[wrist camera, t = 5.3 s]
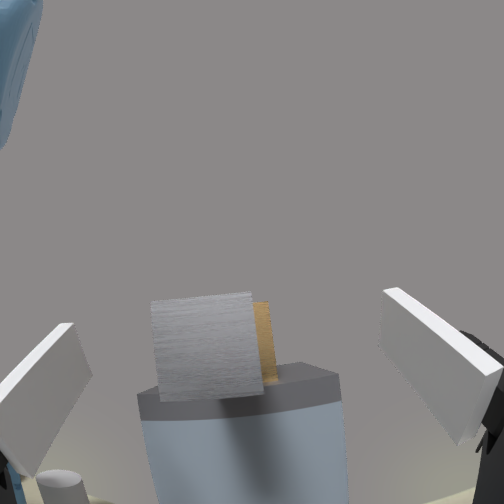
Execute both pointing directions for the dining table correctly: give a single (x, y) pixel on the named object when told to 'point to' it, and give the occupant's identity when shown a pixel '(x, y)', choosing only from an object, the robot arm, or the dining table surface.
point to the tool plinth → (251, 443)
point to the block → (212, 347)
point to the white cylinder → (61, 487)
